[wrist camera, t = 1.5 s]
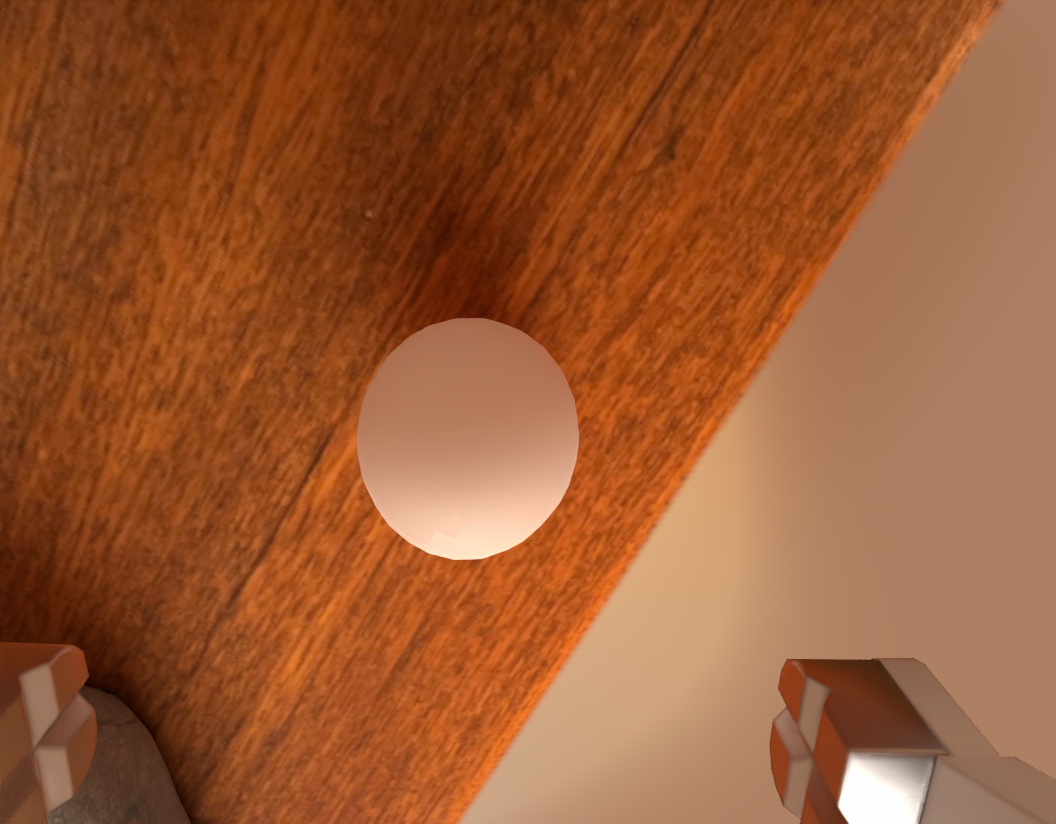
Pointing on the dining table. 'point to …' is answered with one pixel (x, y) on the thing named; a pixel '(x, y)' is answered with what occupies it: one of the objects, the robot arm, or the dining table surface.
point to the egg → (467, 438)
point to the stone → (121, 773)
